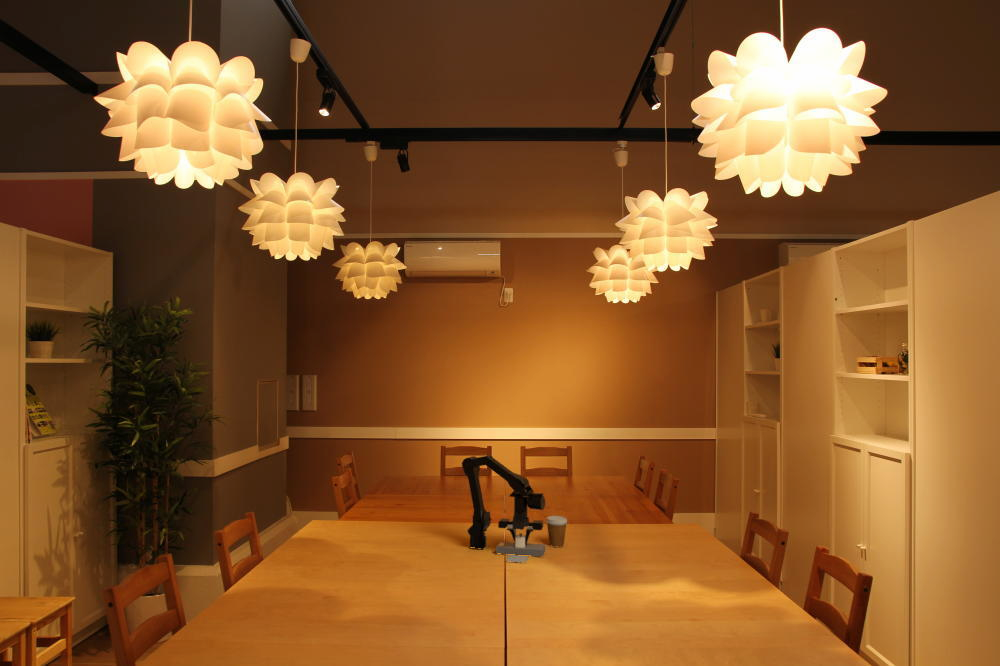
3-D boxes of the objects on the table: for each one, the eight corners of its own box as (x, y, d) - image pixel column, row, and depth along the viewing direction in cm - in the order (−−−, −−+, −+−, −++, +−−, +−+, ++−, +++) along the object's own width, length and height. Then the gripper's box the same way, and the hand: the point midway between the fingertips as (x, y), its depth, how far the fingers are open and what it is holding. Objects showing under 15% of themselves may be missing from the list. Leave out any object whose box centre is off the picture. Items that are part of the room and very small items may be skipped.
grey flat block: (495, 554, 258) (495, 545, 258) (499, 548, 266) (499, 540, 266) (542, 557, 254) (542, 548, 254) (545, 551, 262) (545, 543, 262)
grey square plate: (505, 562, 247) (505, 560, 247) (509, 556, 255) (509, 554, 255) (525, 563, 246) (525, 562, 246) (528, 557, 254) (528, 556, 254)
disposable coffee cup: (568, 548, 267) (568, 520, 267) (546, 548, 267) (546, 520, 267) (566, 542, 276) (566, 515, 277) (545, 542, 276) (545, 515, 277)
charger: (515, 554, 258) (515, 534, 259) (516, 551, 262) (516, 532, 263) (524, 554, 257) (524, 535, 258) (526, 552, 261) (526, 532, 262)
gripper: (495, 510, 255) (495, 548, 254) (540, 513, 251) (540, 551, 250) (500, 505, 266) (500, 541, 265) (543, 507, 262) (543, 543, 261)
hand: (520, 544), depth 260 cm, fingers closed on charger, 4 cm apart
